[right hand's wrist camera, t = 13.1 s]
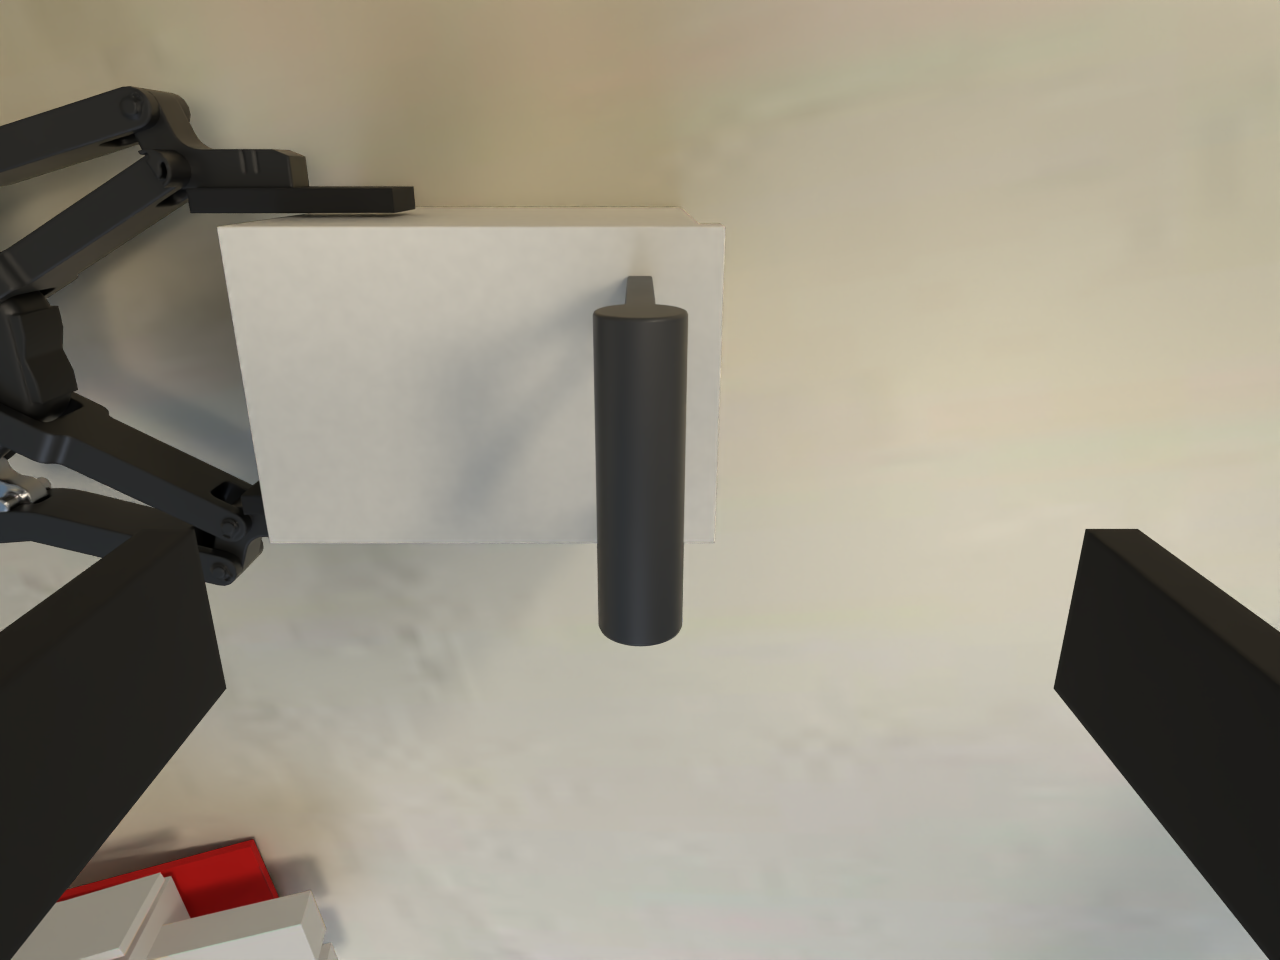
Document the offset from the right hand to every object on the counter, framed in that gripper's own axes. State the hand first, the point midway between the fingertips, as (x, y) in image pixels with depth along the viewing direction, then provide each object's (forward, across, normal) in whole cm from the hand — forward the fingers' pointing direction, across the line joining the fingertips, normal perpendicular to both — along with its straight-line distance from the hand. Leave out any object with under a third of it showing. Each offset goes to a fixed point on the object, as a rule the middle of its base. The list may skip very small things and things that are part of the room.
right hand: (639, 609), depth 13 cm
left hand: (+18, -8, 0) cm, 20 cm away
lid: (+14, -5, 0) cm, 15 cm away
